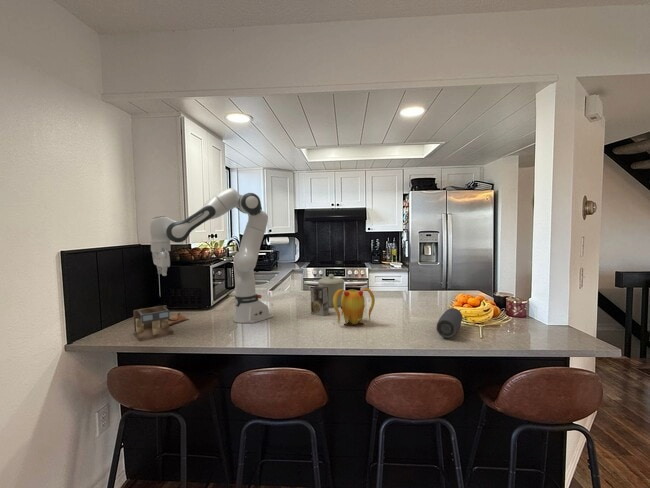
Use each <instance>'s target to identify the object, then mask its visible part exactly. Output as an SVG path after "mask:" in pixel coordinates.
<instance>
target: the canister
mask: <svg viewBox="0 0 650 488" xmlns="http://www.w3.org/2000/svg"><path fill="white" fill-rule="evenodd" d="M345 281H346V280H345V279H343V278H342V277H336V276H335V275H334V273H329V274H328V277H321V278H320V279H318V280H317V283H318V286H321V287H328V304H329V308H334V305H333V297H334V294H335V292H336V291H337V290H339V289H343V290H344V286H345ZM343 292H344V291H342V292H340V294H339V296H338V300H337V306H338V307H339V306H340V307H341V297H342V294H343Z"/></svg>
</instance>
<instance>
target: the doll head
mask: <svg viewBox="0 0 650 488" xmlns="http://www.w3.org/2000/svg"><path fill="white" fill-rule="evenodd" d="M342 291H343V294H342V297H341V305H340V309H341V311H340V310H339V306H337V300H338V296H339V294H340V292H342ZM364 291H366V292H368V294H369V295H370V298H371V303H370V304H371V305H370V307H369V309H368V318H369V321H371V314H372V312H373V309H374V306H375V302H376V301H375V300H376V299H375V295H374V293H373V291H372V290H371V289H370V288H368V287H366V288H363V289H362V290H357V289H352V288H351V289H348V290H344V288H343V289H339V290H337V291H336V292H335V294H334V297H333V305H334V307H333V308H334V310H335V312H336V314H337V323H338V324H340V321H341V316H343V318H344V323H343V326H344V327H349V328H350V327H351V328H353V327H362V326H364V322H363V319H364V318H363V317H364V312H365V311H364V310H365V307H366V306H365V297H364ZM340 312H341V313H340Z"/></svg>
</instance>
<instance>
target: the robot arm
mask: <svg viewBox="0 0 650 488" xmlns="http://www.w3.org/2000/svg"><path fill="white" fill-rule="evenodd" d="M233 209H237V210H239V212H241V213H242V214H245V215H247V216H248V218H247V222H246V225H245V228H244V231H243V234H242V237H241V240H240V246H239V249H238V252H236V253H235V255H234V256H233V259H232V261H233V272H234V288H235V295H234V306H235V310H234V317H233V322H235V323H238V324H240V323H241V324H245V323H247V324H248V323H250V324H254V323H258V322H262V321H264V320H269V319H271V318H273V317H274V314H273V313H271V312H270V309H269V306H268V305H267V304H266V303H265V302H263V301H261V300H260V299H262V297H263V295H261V294H257V293H256V279H255V273H254V272H255V270H254V269H255V268H256V266H257V262H258V258H259V255H260V250H261V245H262V242H263V239H264V236H265V232H266V230H267V226H268V221H269V220H268V219H269V216H268V214H267V212H266V211H263V208H262V203H261V198H260V197H259V196H258V195H257V194H256V193H254V192H247V193H244V194H240V193H239V191H237V190H236V189H234V188H232V187H228V188H227V189H224V190H222V191H220V192H218V193H216V194H215V195H212V197H211V198H209V199H208V200H207V201H206V202H205V203H204V204H203V205H202V207H201V208H200V209H198V211H196V212H195V213H194V214H191V215H190V216H189V217H187V218H185V219H183V220H181V221H180V220H179V221H176V220H174V219H171V218H169V217H168V216H167V215H162V216H156V217H154V218H152V219H151V221H150V225H149V229H150V231H149V232H150V233H149V234H150V238H151V240H150V252H151V256H152V261H153V264H154V265H155V266H156V269H157V274H158V275H162V276H163V277H166V276H167V275H168V274H167V272H168V268H170V266H171V257H170V252H171V250H172V249H171V242H173V243H183V242H184V241H186V239H188V237H189V236H190V234H191V232H192V231H194V230H195V229H197V228H198V227H199V226H201V225H202V224H204V223H206V222H207V221H211V220H213V219H217V218H220V217H222V216H224V215H225V214H227V213H229V212H230V211H231V210H233Z"/></svg>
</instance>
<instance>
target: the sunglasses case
mask: <svg viewBox="0 0 650 488" xmlns="http://www.w3.org/2000/svg"><path fill="white" fill-rule="evenodd" d="M169 316H170V318H169V319H168V326H169V327H172V326H174V325H178V324H180V323H183V322H186V321H189V320H190V319H189V318H188V317H186V316H184V315H183V314H181V313H180V312H178V313H176V314H173V315H169Z"/></svg>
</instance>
